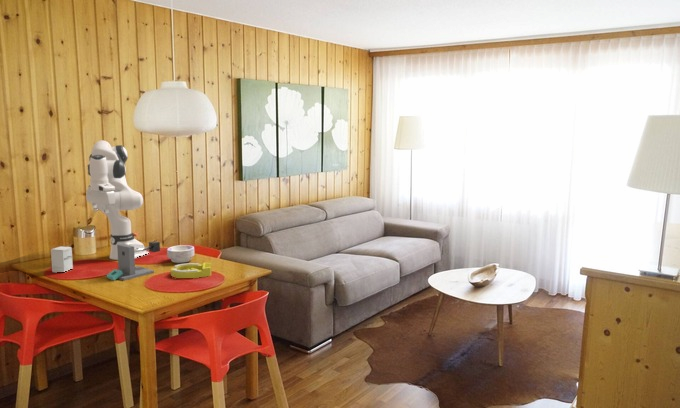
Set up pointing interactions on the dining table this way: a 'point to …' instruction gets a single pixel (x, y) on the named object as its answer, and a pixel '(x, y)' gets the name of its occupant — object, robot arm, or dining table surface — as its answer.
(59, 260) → the supplement box
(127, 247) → the bearing stand
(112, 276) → the teal flat block
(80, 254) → the dining table surface
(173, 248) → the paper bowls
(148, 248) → the shaft
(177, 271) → the ashtray
